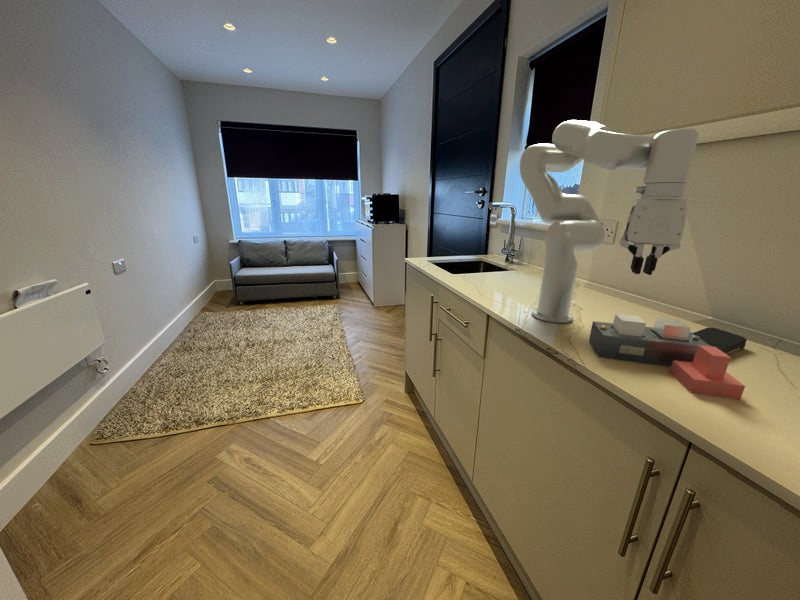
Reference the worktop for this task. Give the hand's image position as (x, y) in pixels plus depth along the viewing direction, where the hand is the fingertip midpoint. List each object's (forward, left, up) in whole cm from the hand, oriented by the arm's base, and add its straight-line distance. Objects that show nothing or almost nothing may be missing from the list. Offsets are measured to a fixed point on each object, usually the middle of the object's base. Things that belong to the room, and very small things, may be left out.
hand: (641, 272), depth 76 cm
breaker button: (0, 0, -16) cm, 16 cm away
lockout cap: (+12, +12, -21) cm, 27 cm away
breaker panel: (0, +5, -21) cm, 22 cm away
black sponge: (-11, +25, -22) cm, 35 cm away
